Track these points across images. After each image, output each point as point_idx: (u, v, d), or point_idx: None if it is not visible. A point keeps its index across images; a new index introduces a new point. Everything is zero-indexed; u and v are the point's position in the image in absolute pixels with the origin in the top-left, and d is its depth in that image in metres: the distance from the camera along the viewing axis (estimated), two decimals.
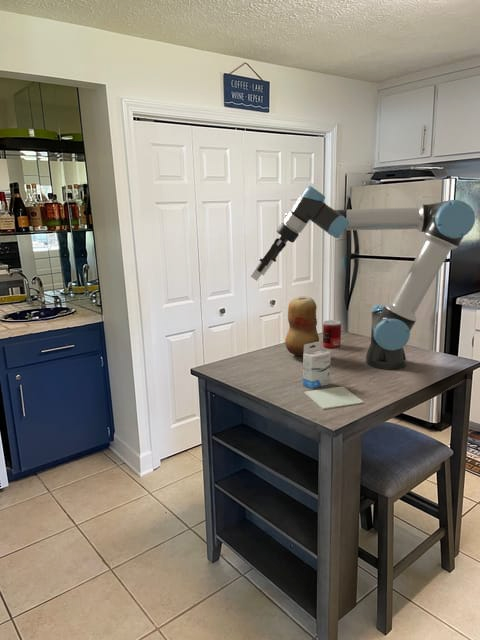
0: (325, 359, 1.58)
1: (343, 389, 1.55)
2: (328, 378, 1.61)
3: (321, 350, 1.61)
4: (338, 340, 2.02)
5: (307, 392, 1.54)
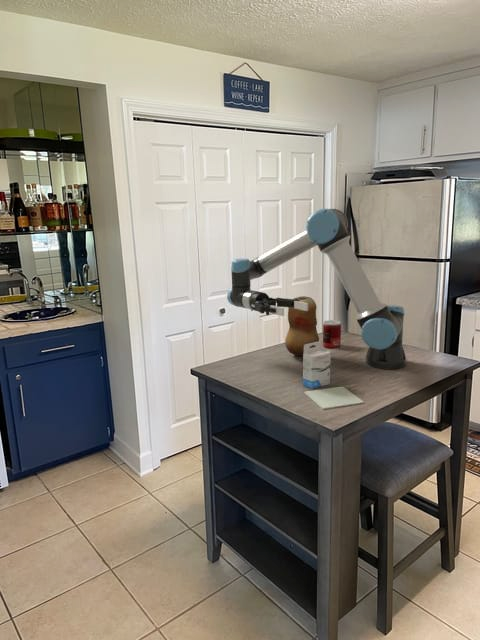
0: (325, 359, 1.58)
1: (343, 389, 1.55)
2: (328, 378, 1.61)
3: (321, 350, 1.61)
4: (338, 340, 2.02)
5: (307, 392, 1.54)
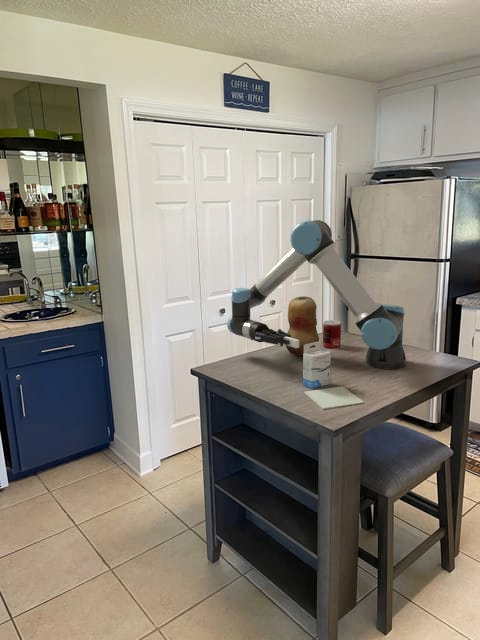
0: (325, 359, 1.58)
1: (343, 389, 1.55)
2: (328, 378, 1.61)
3: (321, 350, 1.61)
4: (338, 340, 2.02)
5: (307, 392, 1.54)
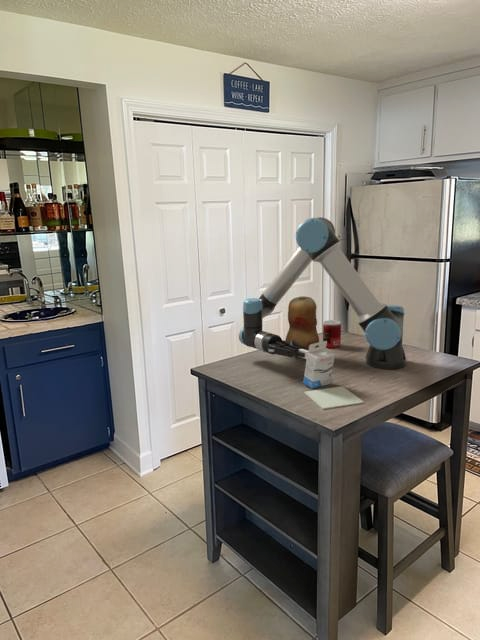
0: (329, 361, 1.57)
1: (343, 389, 1.55)
2: (329, 378, 1.60)
3: (326, 350, 1.59)
4: (338, 340, 2.02)
5: (307, 392, 1.54)
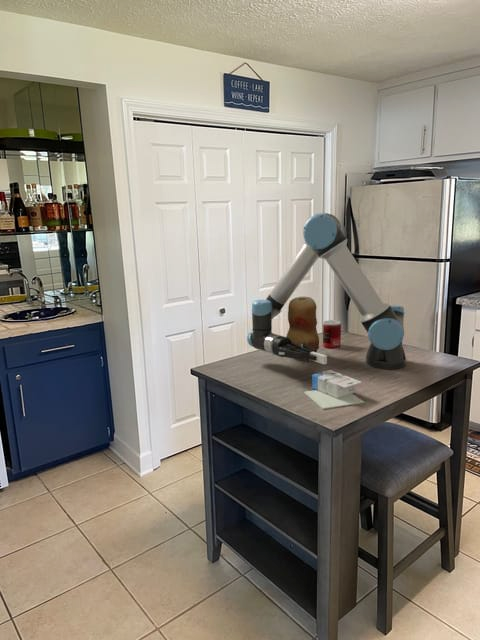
0: None
1: None
2: None
3: None
4: (338, 340, 2.02)
5: (307, 392, 1.54)
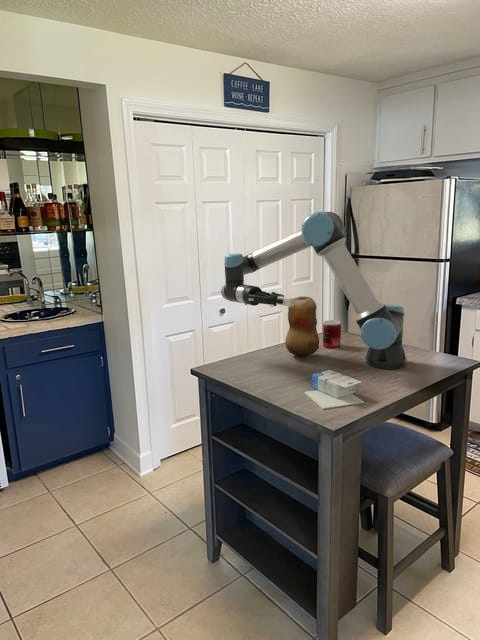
0: None
1: None
2: None
3: None
4: (338, 340, 2.02)
5: (307, 392, 1.54)
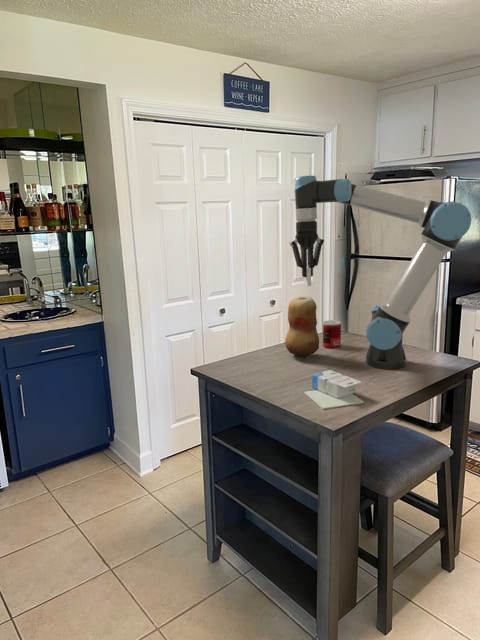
0: None
1: None
2: None
3: None
4: (338, 340, 2.02)
5: (307, 392, 1.54)
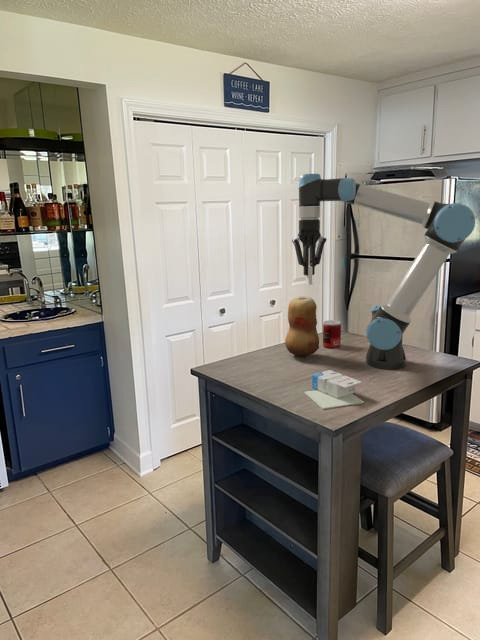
0: None
1: None
2: None
3: None
4: (338, 340, 2.02)
5: (307, 392, 1.54)
